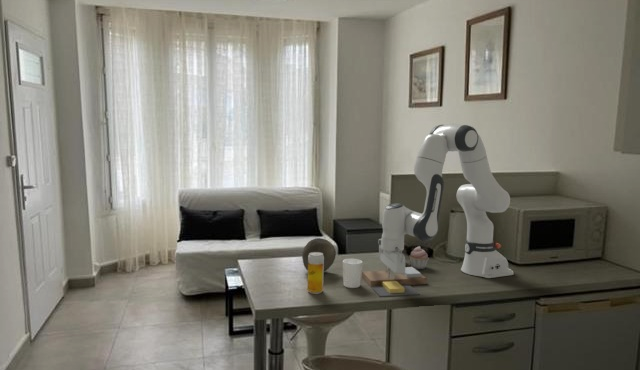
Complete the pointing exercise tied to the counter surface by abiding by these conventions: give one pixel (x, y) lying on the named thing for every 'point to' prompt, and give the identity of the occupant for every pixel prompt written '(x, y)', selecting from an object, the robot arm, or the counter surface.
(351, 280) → the white cup
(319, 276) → the pill bottle
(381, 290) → the mat
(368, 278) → the brown wooden flat block
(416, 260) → the cupcake
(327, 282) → the counter surface
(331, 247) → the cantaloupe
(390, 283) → the card mustard
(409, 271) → the grey flat block
